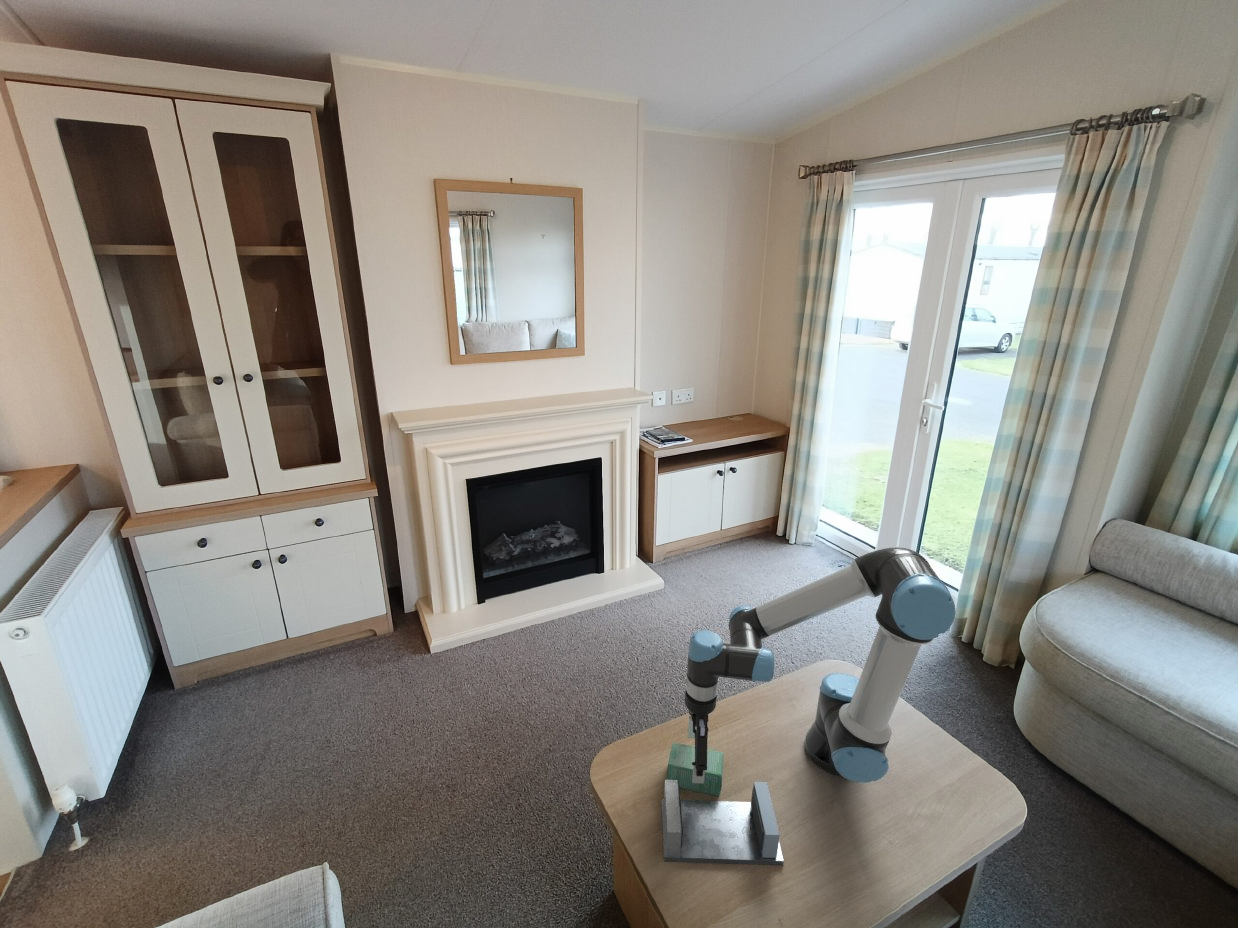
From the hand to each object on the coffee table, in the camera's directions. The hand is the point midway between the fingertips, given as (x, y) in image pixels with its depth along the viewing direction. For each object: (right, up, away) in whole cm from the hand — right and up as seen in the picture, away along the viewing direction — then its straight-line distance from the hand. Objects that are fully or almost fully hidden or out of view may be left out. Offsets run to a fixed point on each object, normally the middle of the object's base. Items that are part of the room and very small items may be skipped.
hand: (695, 758), depth 143 cm
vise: (+4, -11, -12) cm, 17 cm away
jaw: (+14, -10, -13) cm, 21 cm away
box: (0, -6, +1) cm, 6 cm away
